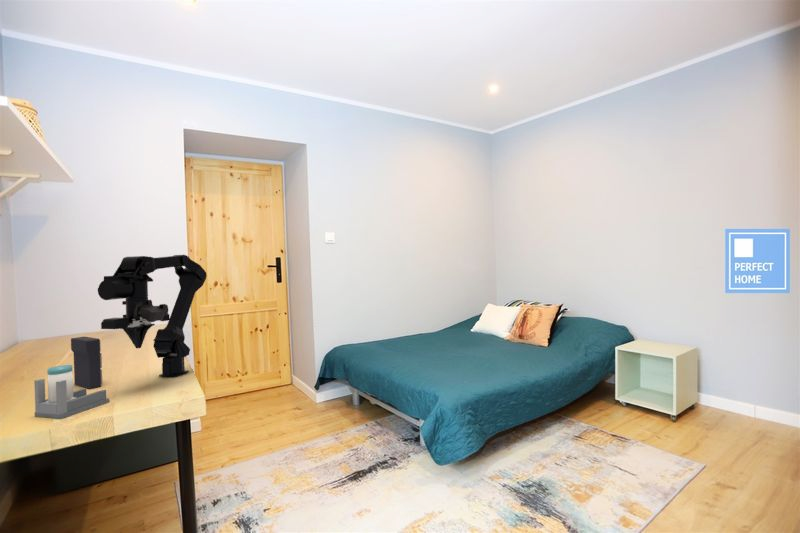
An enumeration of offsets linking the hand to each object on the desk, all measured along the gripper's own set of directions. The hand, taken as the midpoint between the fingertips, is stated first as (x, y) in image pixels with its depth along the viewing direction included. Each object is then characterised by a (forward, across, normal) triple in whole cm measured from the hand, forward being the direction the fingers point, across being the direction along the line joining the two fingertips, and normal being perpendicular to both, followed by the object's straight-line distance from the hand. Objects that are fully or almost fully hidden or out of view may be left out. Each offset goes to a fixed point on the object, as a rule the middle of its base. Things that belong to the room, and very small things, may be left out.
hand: (138, 348), depth 120 cm
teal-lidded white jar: (+11, -21, +1) cm, 24 cm away
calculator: (+12, -1, +19) cm, 23 cm away
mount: (+12, -18, +1) cm, 22 cm away
